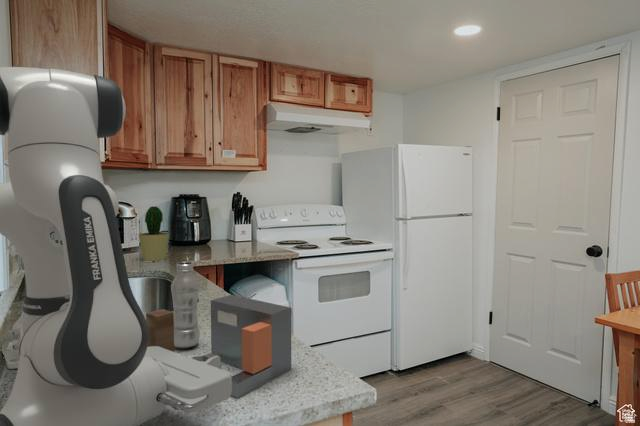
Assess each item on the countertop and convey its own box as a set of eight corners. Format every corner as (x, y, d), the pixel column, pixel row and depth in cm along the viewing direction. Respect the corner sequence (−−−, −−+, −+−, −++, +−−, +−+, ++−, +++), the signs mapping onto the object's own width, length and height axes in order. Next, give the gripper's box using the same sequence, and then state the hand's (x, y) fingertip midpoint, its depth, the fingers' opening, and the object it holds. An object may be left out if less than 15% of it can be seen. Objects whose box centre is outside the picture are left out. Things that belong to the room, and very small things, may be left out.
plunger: (242, 370, 78) (241, 328, 78) (260, 361, 82) (260, 321, 82) (253, 374, 76) (253, 331, 76) (271, 365, 80) (271, 324, 80)
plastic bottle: (189, 339, 103) (188, 260, 102) (205, 346, 98) (204, 263, 97) (165, 347, 98) (164, 263, 97) (181, 354, 93) (180, 266, 92)
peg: (147, 386, 78) (146, 313, 77) (164, 379, 81) (162, 309, 80) (158, 391, 76) (156, 316, 75) (174, 384, 79) (173, 312, 78)
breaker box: (176, 372, 84) (175, 309, 83) (231, 349, 96) (231, 294, 95) (237, 398, 73) (236, 326, 73) (291, 369, 85) (291, 307, 85)
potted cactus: (137, 263, 212) (136, 205, 211) (140, 259, 227) (139, 204, 225) (169, 262, 217) (168, 205, 216) (170, 257, 232) (169, 204, 230)
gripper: (183, 388, 53) (258, 354, 64) (103, 352, 65) (178, 329, 76) (184, 435, 53) (259, 393, 65) (104, 392, 65) (178, 362, 77)
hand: (214, 358), depth 71 cm, fingers closed
